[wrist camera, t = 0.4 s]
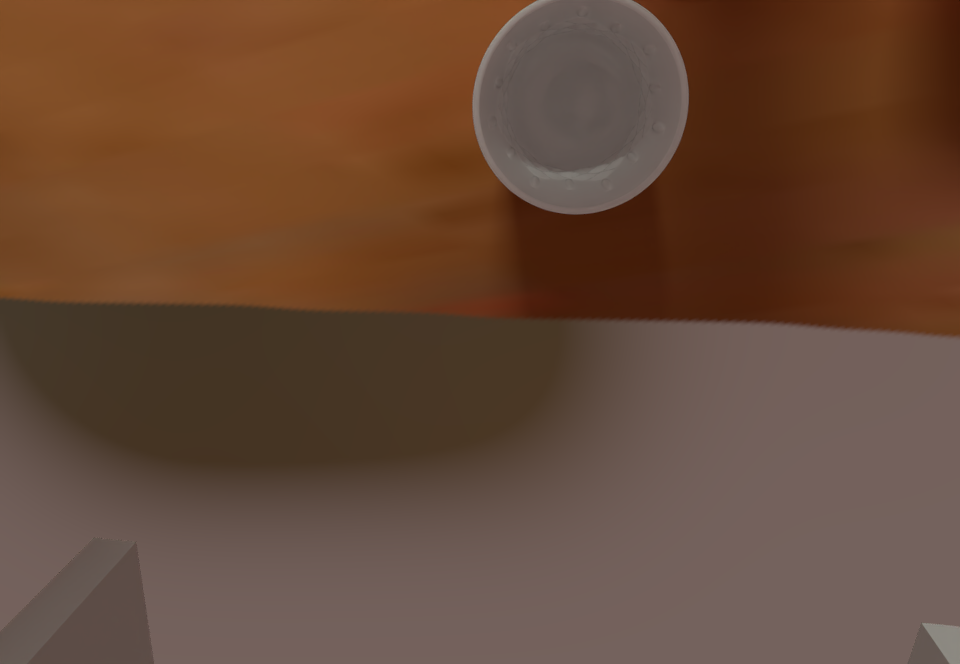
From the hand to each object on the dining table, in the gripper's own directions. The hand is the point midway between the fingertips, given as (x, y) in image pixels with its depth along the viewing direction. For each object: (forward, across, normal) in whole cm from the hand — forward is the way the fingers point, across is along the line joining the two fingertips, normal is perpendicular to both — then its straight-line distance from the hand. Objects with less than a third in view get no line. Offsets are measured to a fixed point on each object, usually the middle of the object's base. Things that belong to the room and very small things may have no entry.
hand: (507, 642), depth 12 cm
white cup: (+28, +1, +8) cm, 29 cm away
